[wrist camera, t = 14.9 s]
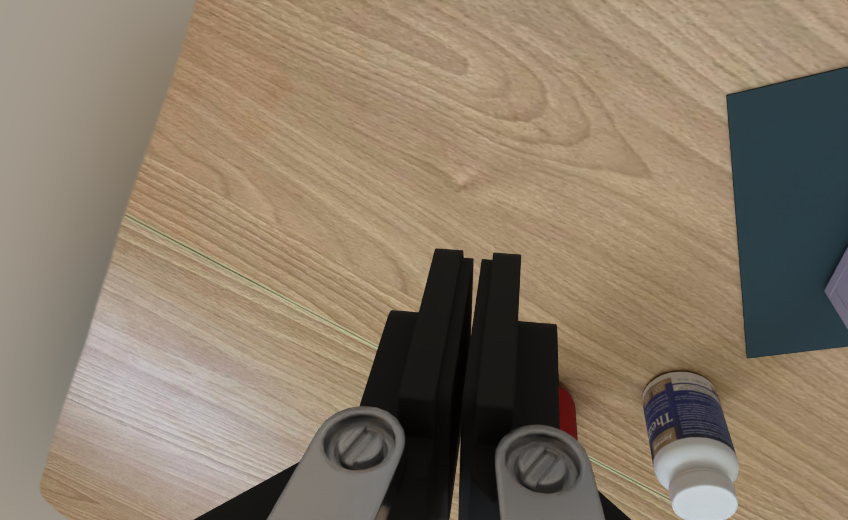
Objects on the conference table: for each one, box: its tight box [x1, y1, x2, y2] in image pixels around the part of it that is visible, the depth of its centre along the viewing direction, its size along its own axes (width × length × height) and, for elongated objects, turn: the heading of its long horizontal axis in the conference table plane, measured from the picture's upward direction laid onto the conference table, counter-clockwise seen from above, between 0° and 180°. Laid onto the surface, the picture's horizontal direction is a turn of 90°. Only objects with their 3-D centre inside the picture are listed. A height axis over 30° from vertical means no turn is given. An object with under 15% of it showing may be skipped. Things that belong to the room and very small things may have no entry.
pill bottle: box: [643, 372, 739, 520], centre depth 45 cm, size 5×5×10 cm
